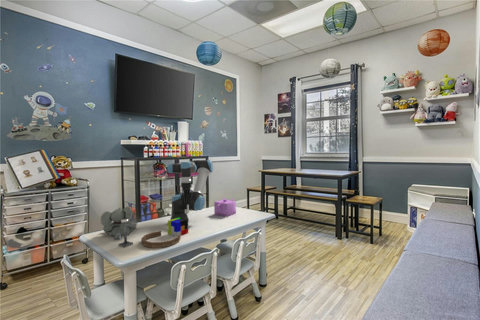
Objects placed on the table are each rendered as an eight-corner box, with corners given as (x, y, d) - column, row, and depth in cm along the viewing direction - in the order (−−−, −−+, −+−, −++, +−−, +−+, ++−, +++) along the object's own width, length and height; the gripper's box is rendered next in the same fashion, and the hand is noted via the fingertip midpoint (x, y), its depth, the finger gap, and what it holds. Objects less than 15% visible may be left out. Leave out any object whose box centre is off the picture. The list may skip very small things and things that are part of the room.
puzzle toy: (177, 236, 181) (176, 222, 180) (168, 234, 187) (167, 220, 186) (188, 233, 189) (187, 219, 188) (179, 230, 195) (178, 217, 194)
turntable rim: (133, 244, 167) (133, 239, 167) (157, 234, 186) (157, 230, 186) (162, 250, 157) (162, 245, 156) (184, 239, 175) (184, 234, 175)
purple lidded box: (240, 212, 249) (240, 197, 248) (223, 217, 229) (223, 202, 228) (227, 210, 258) (227, 196, 257) (210, 215, 238) (210, 200, 237)
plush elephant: (105, 231, 196) (104, 204, 195) (136, 227, 204) (135, 201, 203) (99, 243, 171) (98, 212, 170) (135, 238, 179) (134, 208, 178)
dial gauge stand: (118, 246, 165) (117, 220, 164) (129, 241, 172) (128, 217, 172) (127, 248, 161) (127, 222, 161) (138, 243, 169) (137, 218, 168)
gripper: (184, 183, 188) (185, 215, 189) (195, 181, 200) (196, 211, 201) (176, 183, 191) (177, 214, 192) (187, 181, 203) (188, 210, 204)
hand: (186, 213), depth 196 cm, fingers closed
